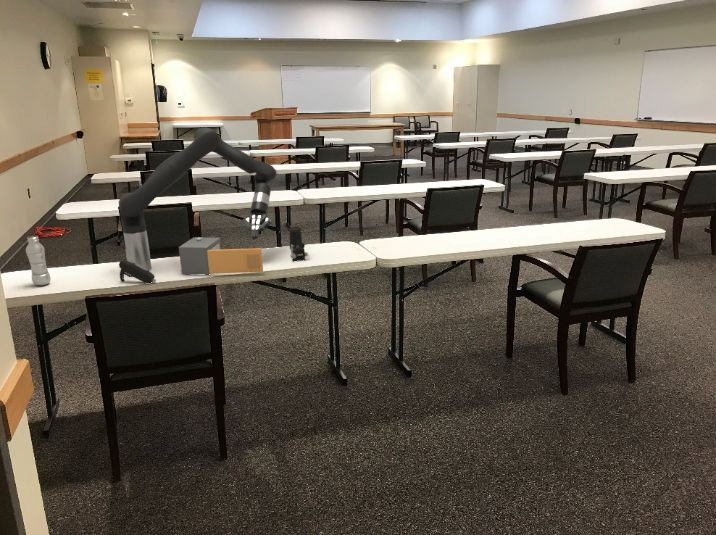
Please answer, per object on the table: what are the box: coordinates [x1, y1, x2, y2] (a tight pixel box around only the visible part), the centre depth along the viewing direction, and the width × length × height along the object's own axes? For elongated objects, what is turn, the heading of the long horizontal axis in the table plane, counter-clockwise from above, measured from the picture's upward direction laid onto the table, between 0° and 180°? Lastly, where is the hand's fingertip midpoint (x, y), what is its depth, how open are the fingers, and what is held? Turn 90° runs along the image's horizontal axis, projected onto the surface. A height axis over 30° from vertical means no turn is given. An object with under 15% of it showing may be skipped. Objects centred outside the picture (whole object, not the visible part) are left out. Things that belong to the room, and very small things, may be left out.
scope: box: [288, 226, 309, 263], centre depth 253 cm, size 8×14×10 cm
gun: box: [118, 259, 157, 284], centre depth 226 cm, size 3×16×10 cm, turn 79°
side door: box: [207, 247, 264, 275], centre depth 232 cm, size 2×22×10 cm, turn 93°
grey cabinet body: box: [178, 236, 222, 276], centre depth 240 cm, size 14×16×13 cm
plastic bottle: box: [25, 235, 51, 286], centre depth 223 cm, size 6×7×20 cm
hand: (254, 238), depth 243 cm, fingers closed
